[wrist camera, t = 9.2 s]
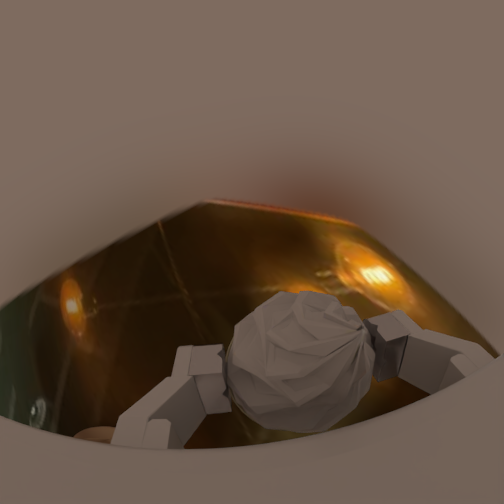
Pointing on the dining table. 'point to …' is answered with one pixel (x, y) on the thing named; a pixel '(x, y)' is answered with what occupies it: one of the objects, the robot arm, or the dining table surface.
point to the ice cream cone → (299, 362)
